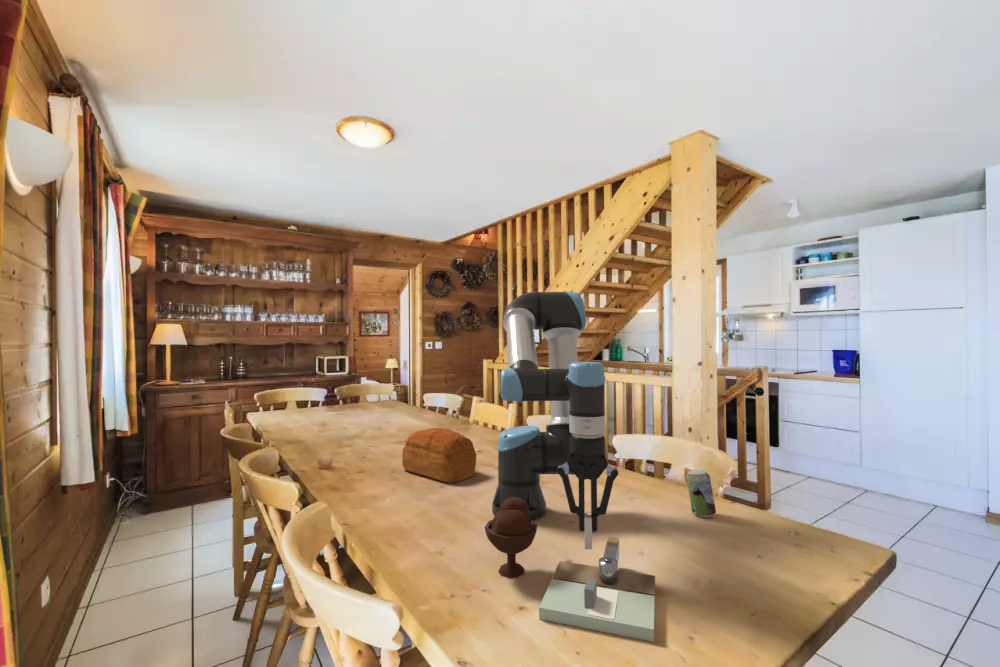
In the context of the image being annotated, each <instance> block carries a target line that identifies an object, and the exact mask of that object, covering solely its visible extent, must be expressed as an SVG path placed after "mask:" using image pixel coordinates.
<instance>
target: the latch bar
mask: <svg viewBox="0 0 1000 667" xmlns="http://www.w3.org/2000/svg"><path fill="white" fill-rule="evenodd" d="M619 558H620V538H619V537H613V536H612V537H611V536H608V537H607V539H606V545H605V548H604V553H603V556H602V557H600V558H599V559H598V567H599V579H600V580H601V581H603V582H607V583H614V582H617V581H618V570H619Z"/></svg>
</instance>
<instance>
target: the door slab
mask: <svg viewBox="0 0 1000 667" xmlns="http://www.w3.org/2000/svg"><path fill="white" fill-rule="evenodd" d="M655 605H656V595H655V596H651V595H645V594H639V593H633V592H627V591H621V590H615V589H609V588H603V587H597V579H593V578H587V582H586V584H580V583H574V582H568V581H562V580H556V579H552V578H551V579H550V582H549V583H548V586H547V589H546V591H545V593H544V596H543V597H542V600H541V602H540V604H539V607H538V619H539V620H542V621H547V622H551V623H552V622H553V623H557V624H562V625H567V626H572V627H577V628H583V629H588V630H593V631H598V632H603V633H608V634H613V635H619V636H621V637H622V636H623V637H628V638H633V639H636V640H637V639H638V640H643V641H647V642H653V643H654V642H655V611H656V608H655V607H656V606H655Z"/></svg>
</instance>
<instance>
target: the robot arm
mask: <svg viewBox="0 0 1000 667" xmlns="http://www.w3.org/2000/svg"><path fill="white" fill-rule="evenodd" d="M585 306H586V305H585V302H584V300H583V297H582V296H581V294H580V293H578V292H575V291H566V290H565V291H564V290H563V291H538V292H537V291H530V292H526V293H523V294H520V295H519V296H517V297H516V298H514V299H513V300H512V301H510V302H509V304H508V305H507V307H506V308H505V310H504V313H503V316H502V325H503V328H504V330H505V332H506V349H507V350H506V355H507V369H502V370H501V372H500V397H501V399H502V400H503V401H505V402H506V401H507V402H518V403H520V402H550V421H548V423H547V424H546V426H545V431H541V430H540V428H539V427H538V426H536V425H520V426H516V427H510V428H507V429H504V430H503V431H501V432H500V433H499V435H498V440H497V448H496V449H497V452H498V454H497V458H498V460H497V461H498V462H497V463H498V464H497V466H498V467H497V468H498V471H497V472H498V473H497V475H498V477H497V478H498V479H497V480H498V482H497V487H496V490H495V494H494V496H493V500H492V505H491V511H492V515H493V516H495V515H496V513H497V512H499V511H500V506H501V504H502V503H503V502H504V501H505V500H507V499H508V498H512V497H517V498H521V499H523V500H524V501H525V502H526V503H527V505H528V507H529V517H530V519H531V520H532V521H536V520H539V519H541V518H543V517H545V515H547V503H546V499H545V496H544V493H543V489H542V486H541V483H540V478H541V477H540V476H541V475H559V476H560V478H561V479H562V484H563V488H564V491H565V495H566V499H567V500H566V501H567V503H568V508H569V511H570V513H571V514H575V515H577V516H578V531H580V532H583V533H584V550H593V535H592V534H593V533H598V532H597V531H598V517H599V516H605V515H606V514H607V510H608V505H609V501H610V497H611V493H612V489H613V485H614V481H615V480H616V478H617V477H618V476H619V470H618V468H617V467H616V466H612V465H611V464H609V461H608V458H607V456H606V437H605V436H604V434H606V412H605V411H606V405H605V403H606V400H605V399H606V398H605V397H606V396H605V395H606V394H605V393H606V391H605V386H606V385H605V384H606V383H605V382H606V376H605V375H606V374H605V366H604V364H603V363H601V362H599V361H598V362H597V361H596V362H595V361H579V360H578V346H577V345H578V344H577V339H578V338H579V337H580V336H581V335H582V331H583V330H584V329H585V328H586V325H587V319H586V318H587V314H586V307H585ZM534 330H537V331H538V330H539V331H541V330H542V337H543V338H545V339H546V340H547V348H548V349H547V350H548V368H539V363H538V356H537V349H536V341H535V334H534ZM605 470H606V471H605ZM604 471H605V472H606V473H605V474H606V480H605V484H604V488H603V492H602V496H601V499H600V500H601V501H600V506H598V479H599V478H600V477H601V475H602V474H603V473H604ZM569 475H571V476H573V475H574V476H575V477H576V478H578V505H577V504H576V500H575V496H574V492H573V488H572V485H571V481H570V480H571V479H570V477H569ZM585 480H589V481H590V511H591V512H590V513H588V512H585V507H586V506H585Z"/></svg>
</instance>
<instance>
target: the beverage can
mask: <svg viewBox="0 0 1000 667" xmlns="http://www.w3.org/2000/svg"><path fill="white" fill-rule="evenodd" d="M707 472H708V471H706V470H704V469H693V470H689V471H687V474H686V477H685V479H686V484H687V490H688V495H689V496H688V497H689V501H690V507H691V512H692V514H694V515H695V516H697V517H700V518H710V517H713V516H714V515H715V514H716V512H717V510H716V509H717V508H716V504H715V498H714V493H713V488H712V481H711V477H710V475H709V474H708V473H707Z"/></svg>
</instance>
